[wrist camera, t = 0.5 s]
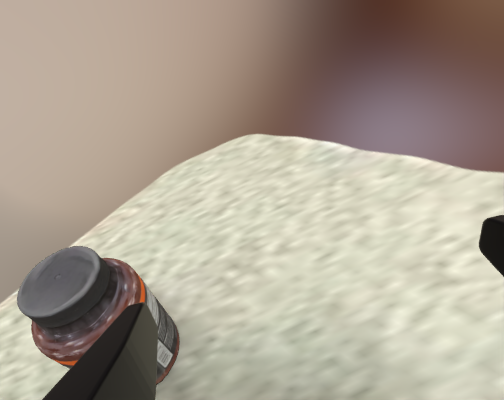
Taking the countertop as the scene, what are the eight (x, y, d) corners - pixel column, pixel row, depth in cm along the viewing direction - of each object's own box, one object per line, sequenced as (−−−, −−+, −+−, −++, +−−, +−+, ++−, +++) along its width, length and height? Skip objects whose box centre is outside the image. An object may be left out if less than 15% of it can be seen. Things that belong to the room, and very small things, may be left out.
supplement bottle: (95, 402, 20) (-40, 347, 12) (117, 319, 25) (28, 238, 17) (177, 392, 20) (94, 329, 12) (185, 310, 24) (128, 223, 16)
